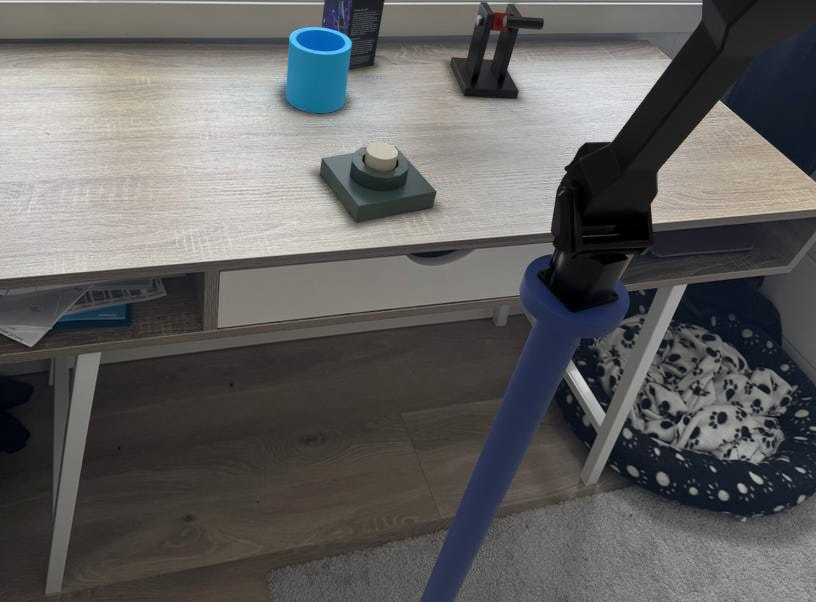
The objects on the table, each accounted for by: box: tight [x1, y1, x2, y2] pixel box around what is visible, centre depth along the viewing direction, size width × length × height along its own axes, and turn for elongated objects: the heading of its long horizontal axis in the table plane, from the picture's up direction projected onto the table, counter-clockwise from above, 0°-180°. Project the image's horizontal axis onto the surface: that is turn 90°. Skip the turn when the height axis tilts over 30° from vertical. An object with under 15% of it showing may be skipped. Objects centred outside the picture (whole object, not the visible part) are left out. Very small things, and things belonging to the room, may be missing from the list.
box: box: [320, 0, 385, 69], centre depth 108 cm, size 8×6×11 cm
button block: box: [319, 145, 437, 223], centre depth 85 cm, size 10×10×4 cm
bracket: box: [449, 1, 523, 99], centre depth 106 cm, size 10×8×11 cm
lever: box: [491, 11, 545, 32], centre depth 100 cm, size 12×5×2 cm, turn 5°
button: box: [365, 141, 398, 172], centre depth 83 cm, size 4×4×2 cm
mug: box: [285, 26, 352, 114], centre depth 99 cm, size 12×8×8 cm
